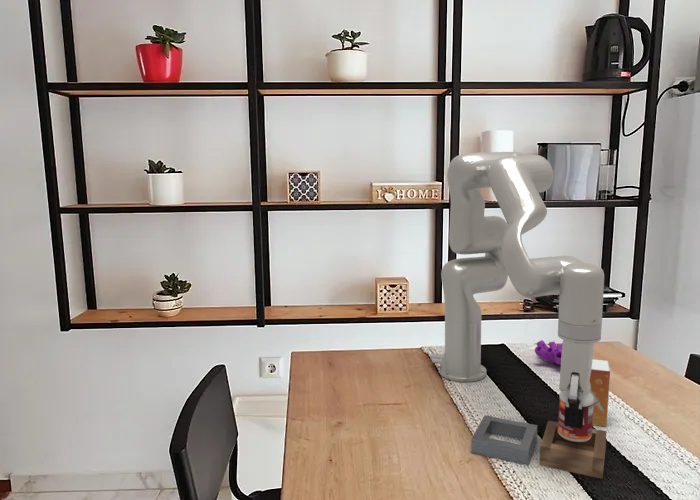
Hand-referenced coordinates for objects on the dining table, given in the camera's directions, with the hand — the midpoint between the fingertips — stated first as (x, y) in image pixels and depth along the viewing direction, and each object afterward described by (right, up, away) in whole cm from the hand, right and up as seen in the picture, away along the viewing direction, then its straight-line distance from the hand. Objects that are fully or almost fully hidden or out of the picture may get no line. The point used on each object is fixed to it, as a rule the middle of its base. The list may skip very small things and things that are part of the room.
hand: (575, 417), depth 107 cm
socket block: (-12, -8, +6) cm, 15 cm away
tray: (0, -8, +1) cm, 8 cm away
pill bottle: (0, -4, +1) cm, 4 cm away
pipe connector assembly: (+15, 0, +48) cm, 50 cm away
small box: (+9, -5, +17) cm, 20 cm away
